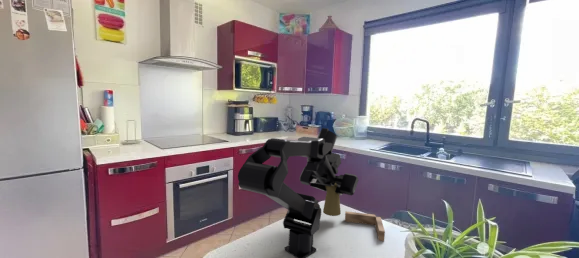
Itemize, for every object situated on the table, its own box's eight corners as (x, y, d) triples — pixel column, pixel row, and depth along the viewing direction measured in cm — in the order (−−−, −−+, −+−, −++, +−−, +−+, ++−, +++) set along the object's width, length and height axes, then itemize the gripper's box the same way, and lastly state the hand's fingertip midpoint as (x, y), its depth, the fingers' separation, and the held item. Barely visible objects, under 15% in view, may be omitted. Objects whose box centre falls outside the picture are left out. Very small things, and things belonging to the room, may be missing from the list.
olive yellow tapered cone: (342, 216, 87) (344, 184, 86) (323, 215, 87) (325, 183, 86) (339, 209, 93) (340, 178, 92) (322, 208, 93) (323, 178, 92)
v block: (381, 242, 78) (382, 232, 77) (342, 220, 91) (343, 211, 91) (398, 235, 82) (399, 226, 82) (359, 215, 96) (359, 207, 95)
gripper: (358, 150, 79) (367, 177, 89) (305, 142, 89) (319, 168, 100) (346, 181, 73) (358, 207, 83) (291, 169, 84) (307, 194, 94)
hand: (334, 192), depth 90 cm, fingers closed on olive yellow tapered cone, 5 cm apart
